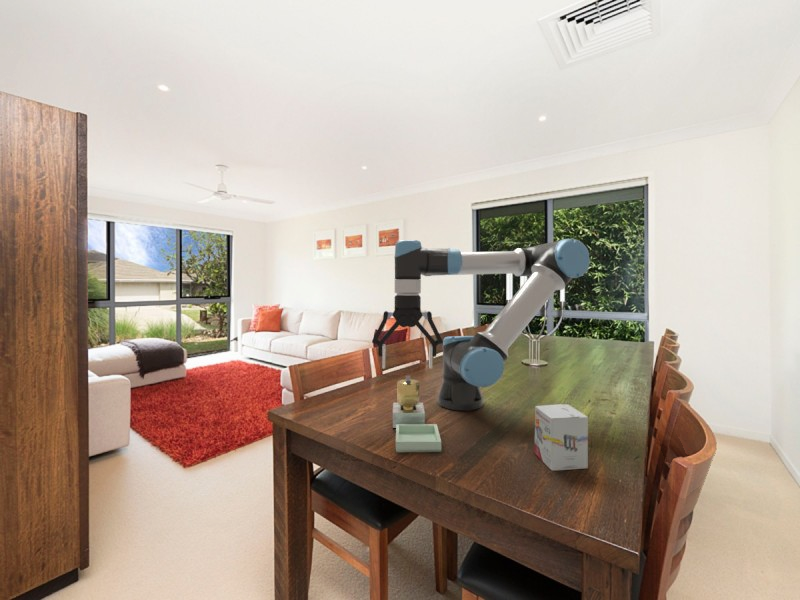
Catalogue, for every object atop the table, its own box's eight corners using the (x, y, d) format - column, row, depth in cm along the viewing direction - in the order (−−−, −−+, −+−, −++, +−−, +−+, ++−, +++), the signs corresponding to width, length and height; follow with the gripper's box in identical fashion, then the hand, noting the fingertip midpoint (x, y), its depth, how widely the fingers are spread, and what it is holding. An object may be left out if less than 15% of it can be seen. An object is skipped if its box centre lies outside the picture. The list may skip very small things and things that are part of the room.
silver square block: (422, 417, 109) (422, 402, 109) (424, 428, 100) (424, 413, 100) (393, 417, 109) (393, 402, 109) (392, 428, 100) (392, 413, 100)
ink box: (533, 452, 86) (533, 404, 85) (567, 451, 87) (568, 402, 86) (551, 471, 77) (551, 417, 77) (589, 469, 78) (590, 415, 77)
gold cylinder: (418, 418, 108) (418, 375, 108) (419, 427, 102) (419, 380, 101) (397, 418, 108) (397, 375, 108) (397, 427, 102) (397, 381, 101)
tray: (436, 433, 97) (436, 424, 97) (441, 452, 86) (441, 441, 86) (396, 433, 97) (396, 424, 97) (395, 452, 86) (395, 442, 86)
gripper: (449, 294, 107) (448, 365, 108) (365, 294, 107) (365, 364, 108) (452, 295, 100) (452, 370, 100) (363, 294, 100) (362, 370, 100)
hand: (407, 367), depth 104 cm, fingers open, 13 cm apart
